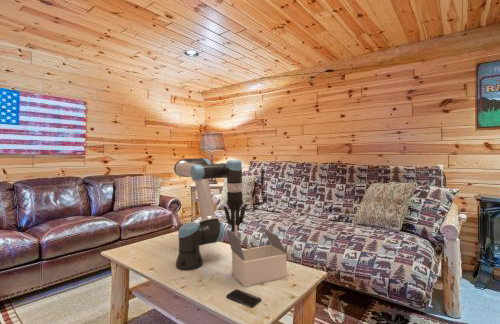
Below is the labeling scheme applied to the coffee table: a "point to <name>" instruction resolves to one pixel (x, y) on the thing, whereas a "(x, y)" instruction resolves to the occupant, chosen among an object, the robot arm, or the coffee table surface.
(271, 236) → the flap
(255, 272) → the carton
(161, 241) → the coffee table surface
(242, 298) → the phone
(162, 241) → the coffee table surface
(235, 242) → the flap
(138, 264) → the coffee table surface
